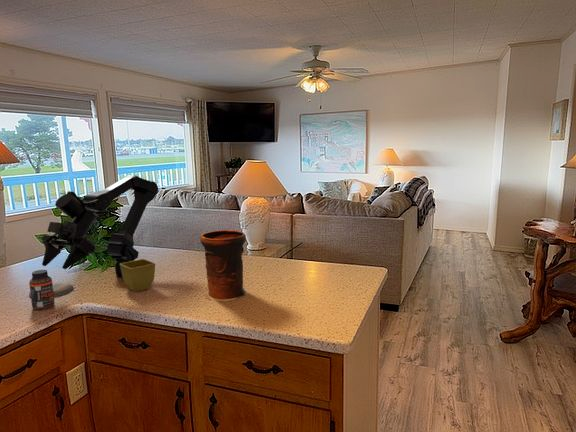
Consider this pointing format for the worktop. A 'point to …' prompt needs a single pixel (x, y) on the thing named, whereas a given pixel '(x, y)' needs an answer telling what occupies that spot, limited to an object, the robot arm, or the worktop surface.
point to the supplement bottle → (41, 290)
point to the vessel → (224, 264)
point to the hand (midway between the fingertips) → (53, 267)
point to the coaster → (61, 289)
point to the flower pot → (138, 274)
